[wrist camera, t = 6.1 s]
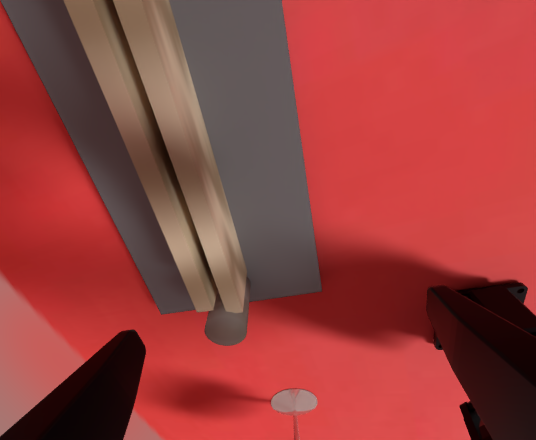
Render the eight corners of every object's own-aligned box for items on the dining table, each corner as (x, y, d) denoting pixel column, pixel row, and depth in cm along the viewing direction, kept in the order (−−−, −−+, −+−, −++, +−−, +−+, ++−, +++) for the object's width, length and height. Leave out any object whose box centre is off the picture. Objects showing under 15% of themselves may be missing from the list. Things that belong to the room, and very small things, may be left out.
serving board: (320, 282, 23) (322, 291, 22) (165, 305, 24) (161, 314, 23) (266, -98, 13) (266, -110, 12) (2, -25, 14) (-16, -31, 13)
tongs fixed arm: (253, 294, 22) (250, 342, 18) (221, 299, 23) (211, 347, 19) (155, -46, 13) (107, -93, 9) (101, -32, 13) (31, -71, 9)
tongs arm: (222, 268, 21) (213, 310, 17) (209, 270, 21) (197, 312, 17) (119, -39, 13) (62, -78, 9) (98, -34, 13) (33, -69, 9)
